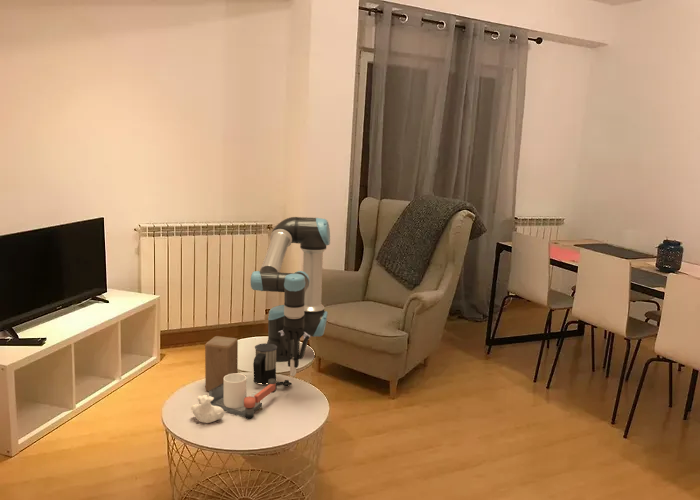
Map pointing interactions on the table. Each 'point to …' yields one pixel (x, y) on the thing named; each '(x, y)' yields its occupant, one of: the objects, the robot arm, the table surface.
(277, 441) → the table surface
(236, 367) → the wooden block
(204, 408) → the bust
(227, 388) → the mug
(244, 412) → the metal tray
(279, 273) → the robot arm
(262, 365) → the milk frother
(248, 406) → the lever
